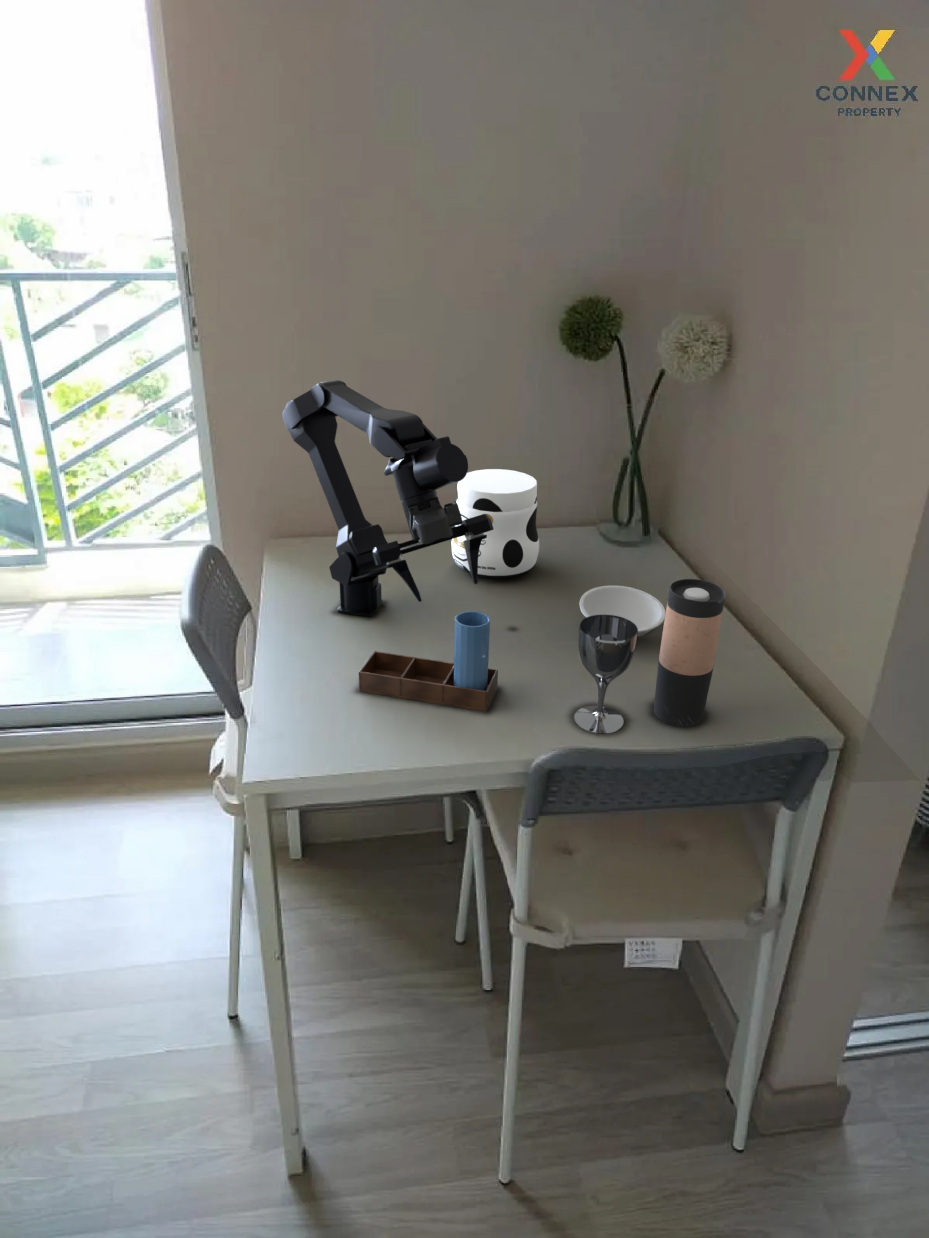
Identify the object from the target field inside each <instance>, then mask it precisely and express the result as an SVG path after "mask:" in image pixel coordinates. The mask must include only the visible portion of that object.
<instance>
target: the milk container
mask: <svg viewBox="0 0 929 1238" xmlns="http://www.w3.org/2000/svg"><path fill="white" fill-rule="evenodd" d="M456 503H457V504H458V507H459V510H460V513H461V517H462V521H463V520H466V519H469V518H472V517H476V516H479V515H482V514H486V515H488V516H489V517H490V519H491V522H492V525H493V528H494V530H491V531H488V532H485V533H484V535H487V538H485V539H482V541H481V544H480V548H479V554H478V578H479V577H481V578H486V579H487V578H488V579H508V578H513V577H518V576H521V575H523V574H527V572H529V571H531V569H532V568H534V567H535V565H536V563H537V561H538V557H539V553H540V539H539V538H540V537H539V534H538V530H537V529H538V528H537V512H538V481H537V479H536V478H534V476H532V475H530V474H527V473H525V472H521V471H517V470H513V469H512V470H511V469H501V468H486V469H477V470H473V471H467V474H466V476H465V477H464V479H462V480H461V481H459V482H457V486H456ZM460 525H461V524H460ZM457 526H459V525H457ZM454 527H456V526H454ZM465 540H466V537H465V535H464V536H461V537H457V538H454V539H451V544H450V545H451V554H452V558H453V561H454V563H455V564H456V566H457V567H458V568H459V569H460V570H462V571H464V572H465V573H467V574H470V575H471V573H470V569H469V564H468V560H467V555H466V551H465V546H464V542H463V541H465Z"/></svg>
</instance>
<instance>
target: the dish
mask: <svg viewBox="0 0 929 1238" xmlns="http://www.w3.org/2000/svg"><path fill="white" fill-rule="evenodd" d="M578 604H579V609H580V612H581V613H582V615H583V616H584V617H585V618H587V617H589V616H593V615H615V616H619V617H623V618H625V619H628V620H630V621H631V622H633V623H634V624H635V625H636V626H637V628H638V636H637V638H638V637H641V636H644V635H646V634H648V633H650V632H651V631H652V630H654V629H656V628H658V627H659V626H661V625H662V624H663V623H664V621H665V614H666V609H665V607H664V605H663V604H662V602H661V601H660V600H659V599H657V598H656V597H655V596H653V595H652V594H650V593H647V592H646V591H644V590H640V589H638V588H636V587H635V588H634V587H632V586H631V587H630V586H626V585H603V586H602V585H601V586H596V587H594V588H591V589H589V590H587V591H585V592H584V593H583V594H582V596H581V597H580V599H579V603H578Z"/></svg>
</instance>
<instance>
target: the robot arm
mask: <svg viewBox="0 0 929 1238" xmlns="http://www.w3.org/2000/svg"><path fill="white" fill-rule="evenodd" d="M337 417H340V418H341V419H342V420H343V421H346V422H348V423H349V424H351V425H352V426H354V427H356V428H357V429H358V430H360V431H362V432H363V433H365V434H366V435H367V436H368V440H369V444H370V445H371V446H372V448H374V449H375V450H376V451H377V452H378V453H379V454H381V456H383V457H385V458H388V463H387V465H386V467H385V469H384V471H383V474H384V476H391V475H392V477H393V480H394V483H395V487H396V490H397V493H398V496H399V500H400V503H401V506H402V509H403V512H404V516H405V519H406V523H407V526H408V529H409V532H410V535H411V540H410V539H409V540H407V541H404V542H401V543H399V542H398V540H395V541H390V542H388V541H387V539H386V537H385V534H384V531H383V528H382V527H381V525H380V523H379V524H378V523H376V524H372V523H371V522H369V520H367V519H366V517H365V514H364V512H363V510H362V508H361V507H362V506H361V505H360V502H359V500H358V497H357V495H356V491H355V490H354V487H353V484H352V482H351V479H350V477H349V474H348V472H347V469H346V466H345V465H344V462H343V459H342V457H341V454H340V451H339V448H338V447H337V444H336V437H337V433H338V421H337ZM282 421H283V424H284V426H285V427H286V429H287V431H288V433H289V435H290V436H291V438H292V440H293V442H294V443H296V445H298V446H299V447H301V448H302V449H303V451H306V453H307V454H308V456H309V458H310V461H311V464H312V466H313V468H314V471H315V473H316V476H317V478H318V481H319V483H320V486H321V489H322V491H323V494H324V496H325V499H326V501H327V504H328V507H329V509H330V512H331V514H332V516H333V519H334V522H335V524H336V527H337V529H338V532H337V533H338V534H337V538H336V545H335V549H336V553H337V555H338V556H337V558H336V559H335V560H334V561H333V562H332V563H331V564H330V566H329V573H330V575H331V579H332V580H334V581H336V582H338V583H339V601H340V603H339V604H340V605H339V606H338V607H337V608H336V612H337V613H338V614H339V613H340V614H348V615H354V616H361V617H368V618H369V617H372V616H373V615H374V613H375V612H376V611H377V610H378V609H379V608H380V606H381V605H383V598H382V584H381V582H379V576H382V575H385V574H386V573H387V569H391V568H392V569H393V570H394V571H395V572H396V573H397V574H398V576H399V577H400V578H401V579H402V580H403V581H404V584H406V586H407V587H408V588H409V590H410V591H411V592H412V594H413V596H414V597H415V599H416V600H417V602H418V603H420V602H422V598H421V597H422V596H421V594H420V591H419V589H418V586H417V584H416V581H415V580H414V577H413V574H412V573H411V571H410V568H409V566H408V562H407V560H406V559H403V555H406V554H408V553H412V552H415V551H418V550H421V549H425V548H429V547H431V546H435V545H438V544H442V543H444V542H447V541H452V539H454V538H457V537H461V536H464V535H465V537H466V540H465V541H463V542H464V546H465V551H466V555H467V560H468V564H469V569H470V573H471V574H470V577H471V579H472V583H473V585H478V581H479V580H478V579H479V576H478V554H479V548H480V544H481V541H482V539H485V538H487V535H484V533H485V532H488V531H491V530H494V528H493V525H492V522H491V519H490V517H489V516H488V515H486V514H482V515H479V516H476V517H472V518H469V519H466V520H463V521H462V517H461V513H460V510H459V507H458V504H457V501H451V502H448V503H445V504H444V505H443V506H442V504H441V502H440V498H439V495H438V492H437V490H439V489H442V488H445V487H448V486H450V485H453V484H455V483H458V482H459V481H461V480H462V479H464V477H465V476H466V474H467V473H468V472H469V471H468V470H469V460H468V458H467V455H466V454H465V453H464V452H463V450H462V449H461V448H460V447H459V446H458V445H455V444H454V443H452V441H451V438H450V436H448V435H446V436H442V437H437V436H436V435H435V434H433V432H432V431H431V430H430V429H429V428H428V427H427V425H426V424H424V423H423V422H424V421H423V419H421V417H420V416H419V415H418V414H415V413H412V412H410V411H405V410H401V409H400V410H399V409H391V408H386V407H384V406H381V404H378V403H377V402H375V401H373V400H371V399H369V398H368V397H366V396H365V395H363V394H361V393H359V392H358V391H356V390H354V389H353V388H351V387H349V386H348V385H347V383H346V382H344V381H342V380H340V379H334V380H327V381H320V382H318V383H316V384H315V385H313V386H312V387H311V388H310V390H308V391H305V392H304V393H302V394H300V395H299V396H297V397H295V398H294V399H292V400H289V401H288V402H287V403H286V405H285V408H284V409H283V410H282ZM460 524H461V525H460ZM457 525H459V526H457ZM455 526H456V527H455ZM419 540H420V541H419Z"/></svg>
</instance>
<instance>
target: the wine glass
mask: <svg viewBox="0 0 929 1238" xmlns="http://www.w3.org/2000/svg"><path fill="white" fill-rule="evenodd" d="M637 636H638V628H637V626H636V625H635V624H634V623H633V622H631V621H630V620H628V619H625V618H623V617H619V616H615V615H593V616H589V617H587V618H586V617H585V618H583V619H582V620H581V621H580V623H579V629H578V652H579V658H580V661H581V665H582V666H583V667H584V669H585V670H586V671H587V672H588V673H589V675H590V676H591V677H592V678H593V680H594V681H595V683H596V685H597V705H588V706H583V707H581V708H579V709H578V710H577V711H576V712H575V713H574V715H573V719H574V722H575V724H576V725H577V726H578V727H580V728H581V729H583V730H585V731H587V732H590V733H594V734H595V733H596V734H611V733H615V732H617V731H620V729H622V727H623V726H624V721H625V720H624V717H623V716H622V715H621V714H620V713H619V712H618V711H617V710H615V709H613V708H611V707H607V706H604V701H605V697H606V692H607V689H608V687H609V685H610V684H611V683H612V682H613V681H614V680H615V679H616V678H618V677H619V676H621V675H622V674H624V672H626V670H628V668H629V666H630V665H631V663H632V660H633V658H634V655H635V651H636V647H637V642H638V637H639V636H638V637H637Z"/></svg>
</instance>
